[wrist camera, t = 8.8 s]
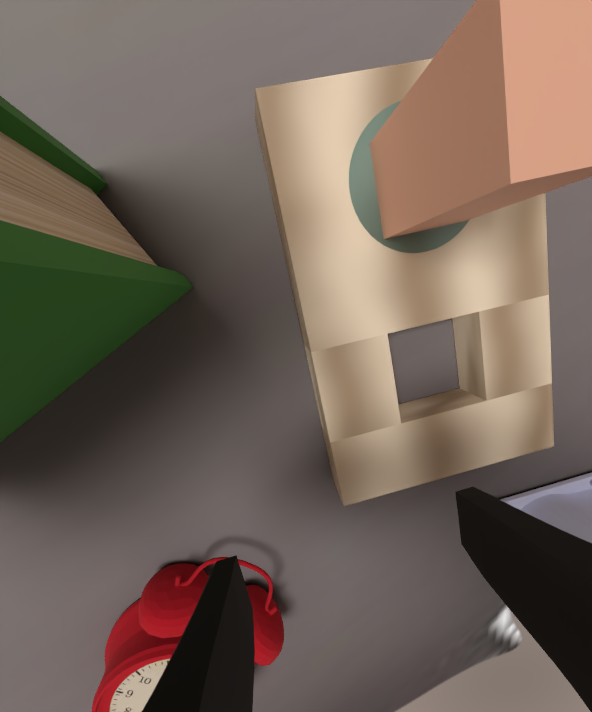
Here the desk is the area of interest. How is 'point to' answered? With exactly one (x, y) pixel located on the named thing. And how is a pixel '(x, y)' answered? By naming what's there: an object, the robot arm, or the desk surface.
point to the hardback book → (63, 271)
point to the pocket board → (402, 295)
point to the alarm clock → (171, 634)
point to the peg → (490, 117)
